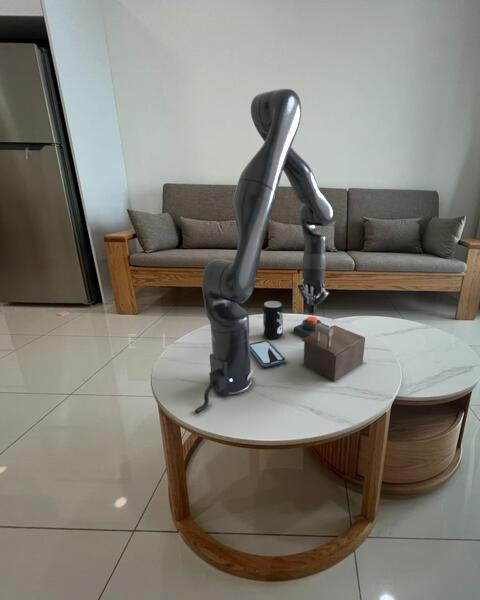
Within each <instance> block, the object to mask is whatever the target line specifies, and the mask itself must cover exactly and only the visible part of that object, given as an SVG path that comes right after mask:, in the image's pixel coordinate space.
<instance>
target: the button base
mask: <svg viewBox="0 0 480 600" xmlns="http://www.w3.org/2000/svg"><path fill="white" fill-rule="evenodd" d="M317 324H320V325H323V326H325V327H328V328H329V327H330V326H329V325H328V324H325V323H322V321H321V320H320V319H318V318H317ZM315 326H316V324H313V325H311V324H307V318H305V319H303V320H302V323H300V324H298V325H296V326H294V327H293V333H294V334H296V335H298V336H300V337H302V338H305V337H307V336H310V335H312V334H314V333H317V331H316V330H315Z"/></svg>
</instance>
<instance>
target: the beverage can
mask: <svg viewBox="0 0 480 600" xmlns="http://www.w3.org/2000/svg"><path fill="white" fill-rule="evenodd" d="M263 304H264V306H262V307H263V308H262V319H263V320H262V321H263V323H262V324H263V337H265V339H267V340H278V339H280V338H282V336H283V335H284V333H283V332H284V331H283V330H284V329H283V328H284V325H283V323H284V308H283V306H282V302H281V301H277V300H269V301H268V300H267V301H266V302H264V303H263Z"/></svg>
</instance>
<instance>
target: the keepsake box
mask: <svg viewBox="0 0 480 600" xmlns="http://www.w3.org/2000/svg"><path fill="white" fill-rule="evenodd" d="M365 344H366V339H365V340H364V341H362V342H360V343H358V344H356V345H354V346H352V347H351V348H349V349H347V350H345V351H343V352H341V353H339V354H337V355H335V356H333V355H330V354H328V353H326V352H324V351H322V350H320V349H318V348H316V347H314V346H312V345H310V344H307V343H305V342H303V366H305V367H306V368H309V369H310V370H312V371H314V372H316V373H317V374H320V375H321V376H323V377H325V378H326V379H328V380H330V381H332V382H336V381H338V380H339V379H341V378H342V377H344V376H345V375H347V374H349V373H350V372H351V371H353V370H355V369H356V368H358V367H359V366H361V365H362V364H363V362H364V353H365V346H366V345H365Z"/></svg>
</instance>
